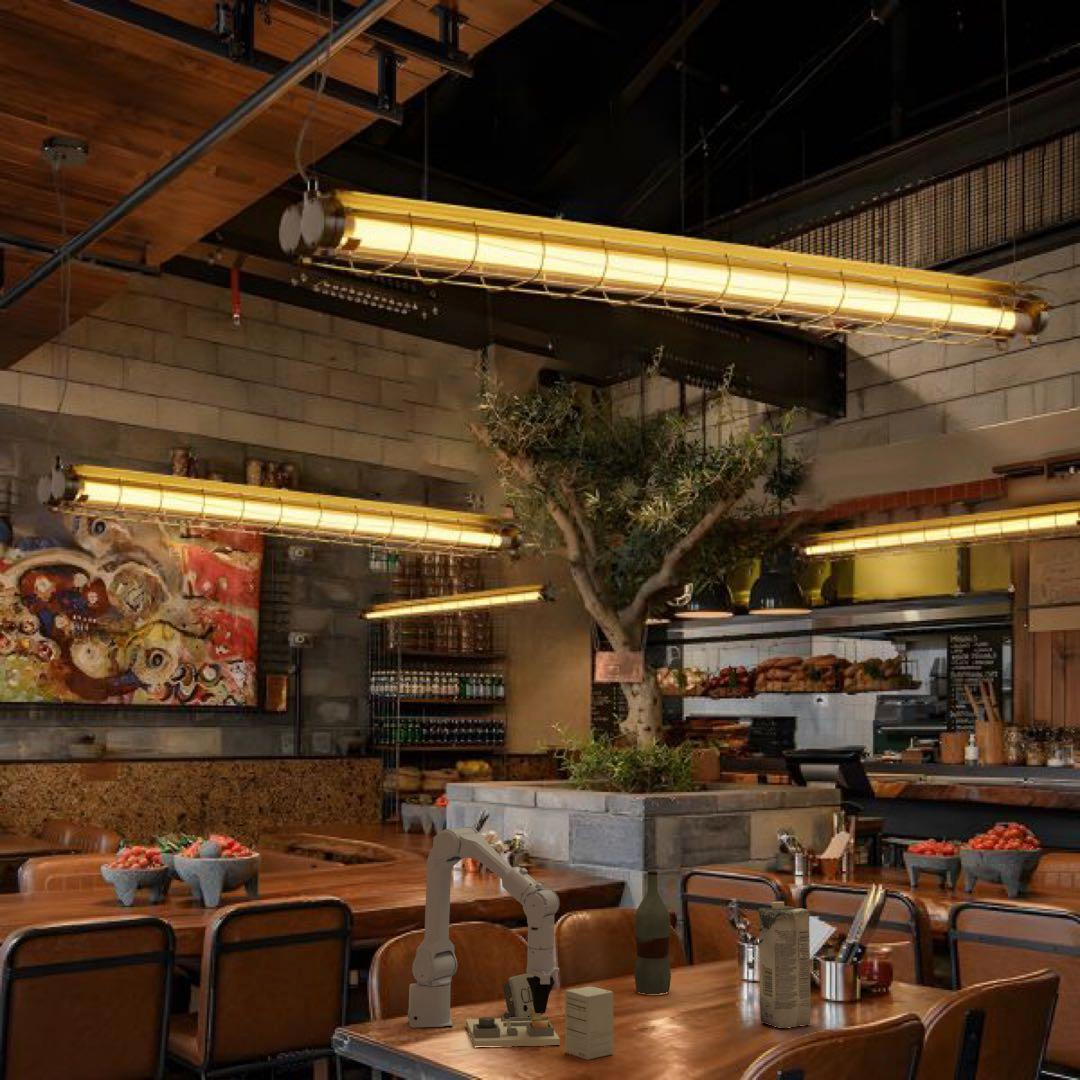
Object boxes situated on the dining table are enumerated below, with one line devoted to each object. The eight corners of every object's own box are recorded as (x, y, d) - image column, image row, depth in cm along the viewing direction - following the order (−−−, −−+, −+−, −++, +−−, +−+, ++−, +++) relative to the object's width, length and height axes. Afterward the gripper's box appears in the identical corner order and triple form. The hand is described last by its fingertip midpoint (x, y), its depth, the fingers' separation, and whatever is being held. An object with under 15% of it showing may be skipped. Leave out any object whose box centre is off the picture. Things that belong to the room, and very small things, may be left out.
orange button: (533, 1032, 286) (533, 1024, 286) (531, 1028, 289) (531, 1020, 289) (549, 1031, 286) (549, 1024, 286) (546, 1028, 290) (546, 1020, 290)
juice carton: (816, 1026, 303) (814, 903, 307) (780, 1031, 298) (779, 906, 301) (790, 1018, 311) (788, 898, 314) (754, 1023, 305) (753, 901, 309)
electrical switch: (519, 1020, 307) (516, 978, 308) (501, 1019, 310) (499, 977, 312) (544, 1013, 314) (542, 972, 316) (527, 1012, 317) (525, 971, 319)
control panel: (474, 1048, 280) (474, 1032, 281) (466, 1026, 300) (466, 1011, 300) (559, 1046, 283) (559, 1030, 283) (545, 1024, 303) (545, 1009, 303)
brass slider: (532, 1023, 296) (532, 1009, 296) (530, 1020, 299) (530, 1006, 299) (541, 1022, 296) (541, 1009, 297) (539, 1019, 299) (539, 1006, 300)
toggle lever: (507, 1034, 286) (503, 1013, 286) (506, 1032, 287) (502, 1011, 288) (514, 1032, 286) (510, 1011, 287) (513, 1030, 288) (509, 1009, 288)
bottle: (629, 989, 342) (629, 868, 346) (663, 988, 344) (663, 868, 348) (641, 997, 333) (641, 873, 337) (676, 995, 335) (675, 872, 339)
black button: (479, 1028, 284) (479, 1020, 284) (477, 1024, 288) (478, 1017, 288) (495, 1028, 285) (495, 1020, 285) (493, 1024, 288) (493, 1016, 288)
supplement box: (591, 1047, 282) (591, 985, 284) (614, 1054, 276) (614, 991, 278) (563, 1053, 277) (564, 989, 279) (587, 1060, 272) (587, 995, 273)
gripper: (564, 953, 283) (563, 1019, 282) (553, 941, 298) (553, 1004, 296) (531, 953, 282) (530, 1020, 281) (522, 941, 297) (521, 1005, 295)
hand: (539, 1012), depth 288 cm, fingers closed
